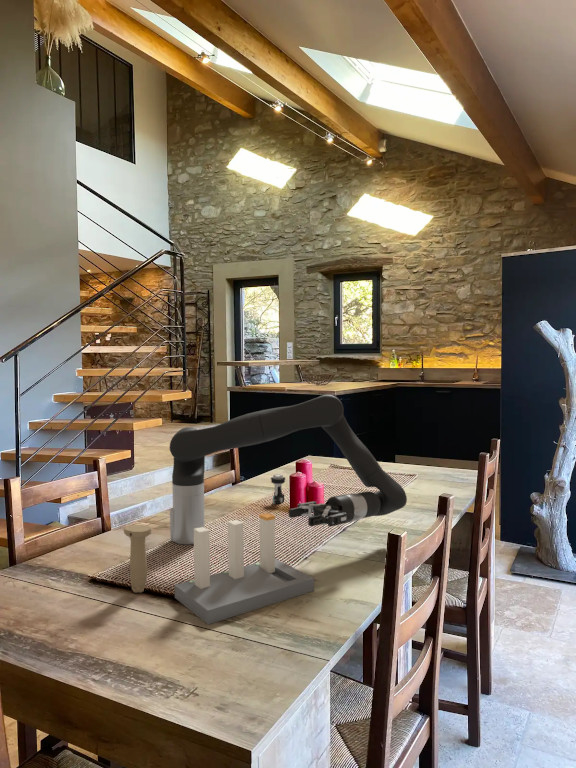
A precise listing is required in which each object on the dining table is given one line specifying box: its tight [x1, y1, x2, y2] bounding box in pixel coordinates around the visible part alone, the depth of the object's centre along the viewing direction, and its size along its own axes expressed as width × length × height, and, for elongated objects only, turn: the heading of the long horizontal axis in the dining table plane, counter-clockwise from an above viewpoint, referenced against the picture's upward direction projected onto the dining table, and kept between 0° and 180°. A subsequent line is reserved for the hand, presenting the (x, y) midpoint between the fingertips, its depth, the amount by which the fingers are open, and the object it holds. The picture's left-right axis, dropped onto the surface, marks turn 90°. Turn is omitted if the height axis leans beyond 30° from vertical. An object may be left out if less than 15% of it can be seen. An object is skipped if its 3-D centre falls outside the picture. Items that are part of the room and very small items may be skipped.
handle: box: [123, 524, 152, 593], centre depth 137 cm, size 5×6×15 cm
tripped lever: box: [259, 512, 276, 573], centre depth 144 cm, size 2×3×14 cm
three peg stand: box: [174, 519, 315, 625], centre depth 135 cm, size 28×16×16 cm, turn 126°
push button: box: [270, 473, 286, 505], centre depth 213 cm, size 7×5×10 cm
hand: (299, 517), depth 150 cm, fingers open, 8 cm apart
